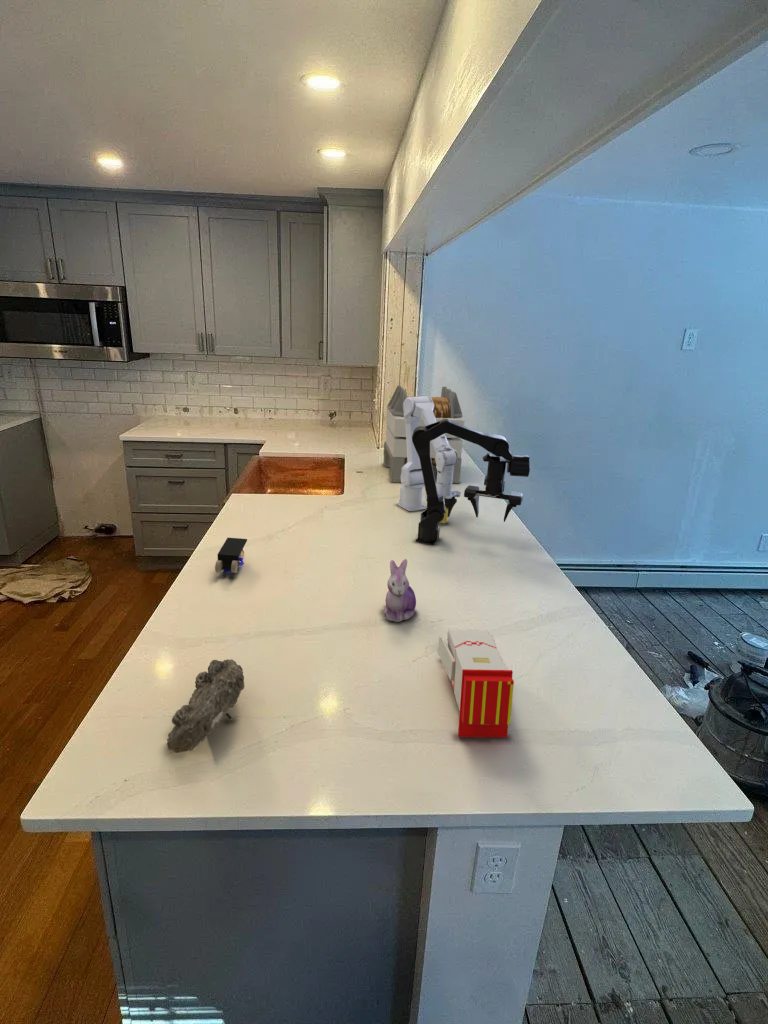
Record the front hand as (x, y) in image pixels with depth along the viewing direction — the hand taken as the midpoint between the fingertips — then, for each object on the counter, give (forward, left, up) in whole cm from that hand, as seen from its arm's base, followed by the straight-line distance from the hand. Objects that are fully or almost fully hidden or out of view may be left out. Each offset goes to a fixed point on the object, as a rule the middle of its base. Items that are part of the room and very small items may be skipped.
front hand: (490, 519), depth 191 cm
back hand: (-21, +12, -7) cm, 25 cm away
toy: (+17, -80, -9) cm, 82 cm away
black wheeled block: (-62, -57, -9) cm, 85 cm away
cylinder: (-21, +12, -8) cm, 25 cm away
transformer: (-52, +71, -9) cm, 89 cm away
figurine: (-9, -58, -9) cm, 59 cm away
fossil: (-25, -110, -9) cm, 114 cm away
